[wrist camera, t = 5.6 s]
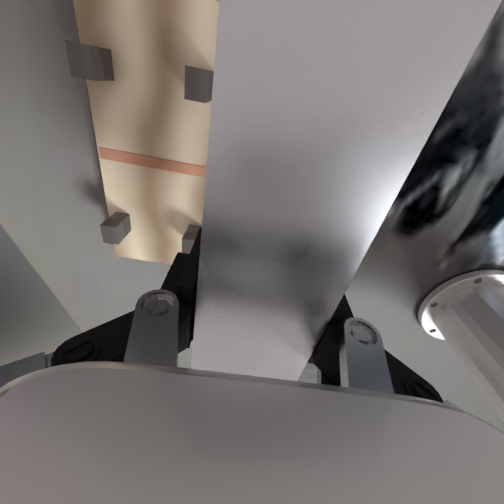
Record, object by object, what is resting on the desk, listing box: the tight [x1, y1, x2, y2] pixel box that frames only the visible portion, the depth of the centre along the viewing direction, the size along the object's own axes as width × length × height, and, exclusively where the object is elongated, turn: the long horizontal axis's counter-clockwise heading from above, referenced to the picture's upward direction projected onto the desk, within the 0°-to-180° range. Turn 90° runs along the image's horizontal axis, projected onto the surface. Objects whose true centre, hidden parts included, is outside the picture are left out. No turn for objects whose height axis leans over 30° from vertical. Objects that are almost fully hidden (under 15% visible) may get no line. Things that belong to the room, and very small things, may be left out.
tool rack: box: [65, 0, 219, 265], centre depth 23 cm, size 11×24×4 cm, turn 170°
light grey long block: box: [191, 0, 502, 381], centre depth 11 cm, size 4×18×4 cm, turn 170°
